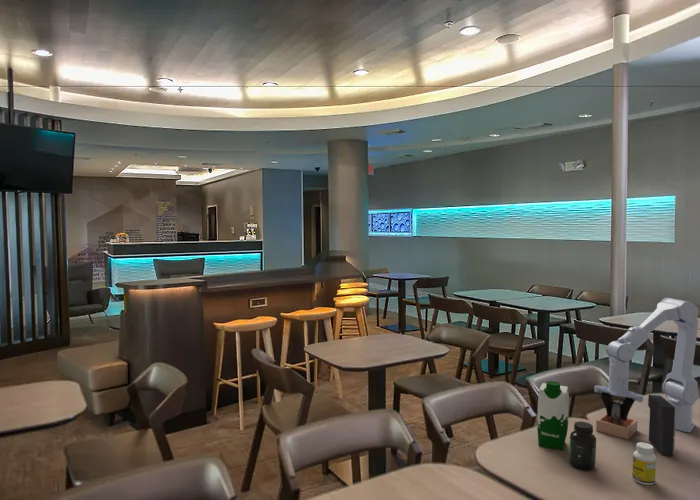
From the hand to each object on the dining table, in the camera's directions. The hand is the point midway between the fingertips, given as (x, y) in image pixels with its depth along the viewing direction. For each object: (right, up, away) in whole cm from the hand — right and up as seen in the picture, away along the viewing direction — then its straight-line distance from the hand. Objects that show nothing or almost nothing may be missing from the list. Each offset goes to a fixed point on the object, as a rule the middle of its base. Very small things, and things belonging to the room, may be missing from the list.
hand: (617, 417), depth 171 cm
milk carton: (-26, -5, -11) cm, 29 cm away
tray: (0, -4, 0) cm, 4 cm away
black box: (+7, -5, -13) cm, 15 cm away
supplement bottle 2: (-10, -6, -33) cm, 35 cm away
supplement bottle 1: (-23, -6, -25) cm, 34 cm away
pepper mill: (0, -3, 0) cm, 3 cm away
